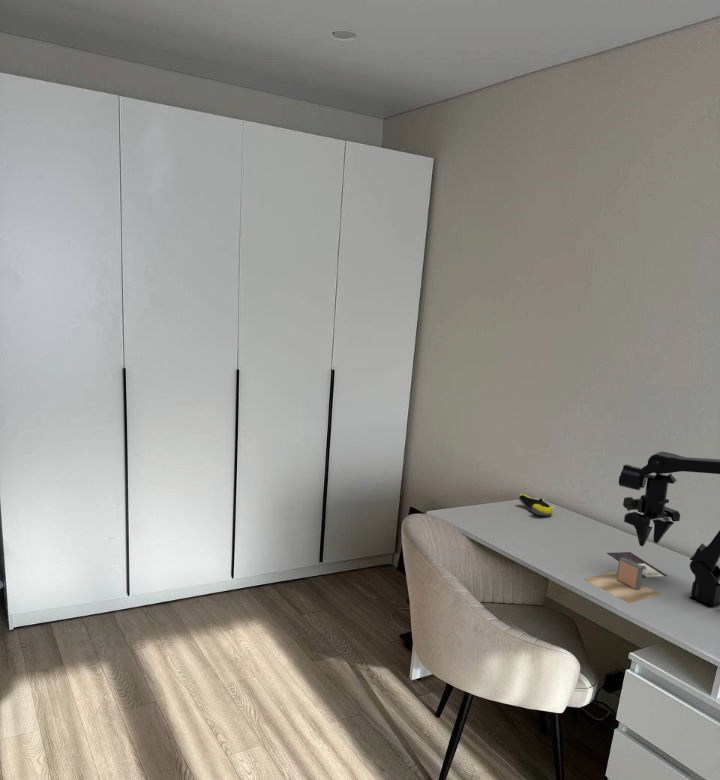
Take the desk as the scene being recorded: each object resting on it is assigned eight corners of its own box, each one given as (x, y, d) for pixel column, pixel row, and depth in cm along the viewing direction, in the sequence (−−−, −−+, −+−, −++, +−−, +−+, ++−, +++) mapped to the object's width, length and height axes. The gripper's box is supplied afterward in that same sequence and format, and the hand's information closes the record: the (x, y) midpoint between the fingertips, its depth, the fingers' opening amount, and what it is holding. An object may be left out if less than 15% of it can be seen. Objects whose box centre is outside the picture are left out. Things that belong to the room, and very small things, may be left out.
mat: (660, 595, 188) (660, 594, 188) (629, 604, 181) (629, 603, 181) (614, 572, 202) (614, 571, 201) (583, 580, 194) (583, 579, 194)
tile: (640, 589, 190) (643, 566, 189) (636, 590, 189) (639, 567, 188) (619, 579, 196) (623, 557, 195) (616, 580, 195) (619, 558, 194)
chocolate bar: (630, 552, 218) (667, 575, 201) (629, 554, 218) (667, 578, 201) (607, 552, 216) (642, 576, 199) (606, 555, 216) (642, 579, 199)
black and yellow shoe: (533, 519, 246) (557, 519, 248) (534, 505, 245) (558, 505, 247) (515, 506, 260) (538, 505, 262) (517, 492, 259) (539, 492, 261)
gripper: (651, 483, 204) (644, 530, 206) (612, 489, 194) (605, 538, 197) (684, 494, 194) (677, 543, 197) (644, 500, 185) (637, 552, 187)
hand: (648, 544), depth 195 cm, fingers open, 6 cm apart
